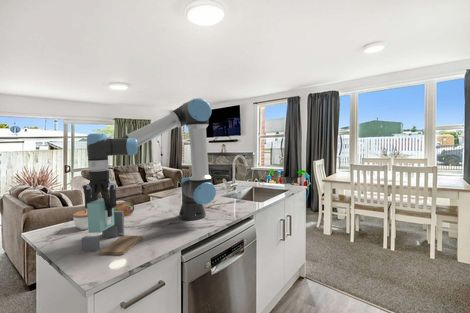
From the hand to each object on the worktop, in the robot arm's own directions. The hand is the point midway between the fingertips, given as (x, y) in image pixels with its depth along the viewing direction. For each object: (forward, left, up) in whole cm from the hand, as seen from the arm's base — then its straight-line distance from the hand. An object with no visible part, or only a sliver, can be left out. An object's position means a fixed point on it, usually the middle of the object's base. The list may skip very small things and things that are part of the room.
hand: (101, 224), depth 102 cm
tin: (+12, -36, -8) cm, 39 cm away
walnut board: (-11, +3, -8) cm, 14 cm away
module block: (0, 0, -2) cm, 2 cm away
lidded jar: (+20, -18, -8) cm, 28 cm away
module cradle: (0, 0, -8) cm, 8 cm away
